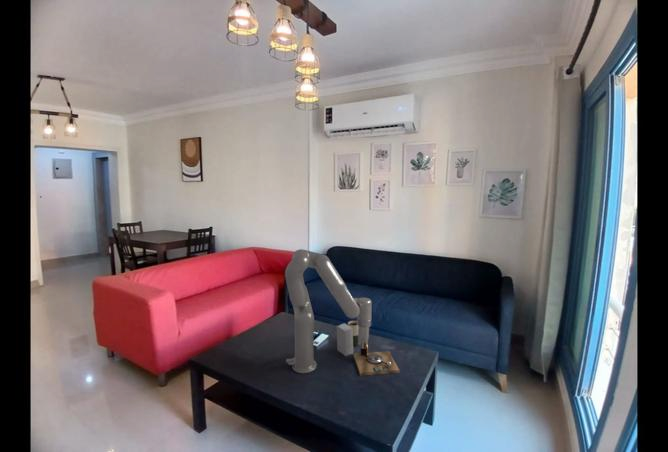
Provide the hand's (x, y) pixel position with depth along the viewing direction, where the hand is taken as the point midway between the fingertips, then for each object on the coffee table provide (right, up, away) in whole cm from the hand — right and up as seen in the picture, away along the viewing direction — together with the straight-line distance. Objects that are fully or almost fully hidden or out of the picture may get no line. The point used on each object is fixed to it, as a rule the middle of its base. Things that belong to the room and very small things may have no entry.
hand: (363, 354), depth 166 cm
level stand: (+6, -4, -2) cm, 8 cm away
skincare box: (-10, -3, +10) cm, 14 cm away
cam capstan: (+7, -2, -2) cm, 8 cm away
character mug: (-4, -2, +19) cm, 19 cm away
